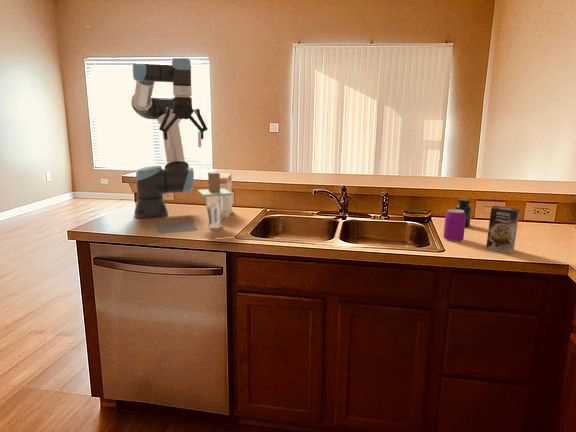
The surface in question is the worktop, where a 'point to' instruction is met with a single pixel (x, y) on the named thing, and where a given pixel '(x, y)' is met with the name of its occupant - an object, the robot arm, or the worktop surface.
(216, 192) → the lid
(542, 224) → the worktop surface
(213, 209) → the beer glass
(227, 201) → the coffeecake box
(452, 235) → the beverage can
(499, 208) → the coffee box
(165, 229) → the mat
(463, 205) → the supplement bottle
